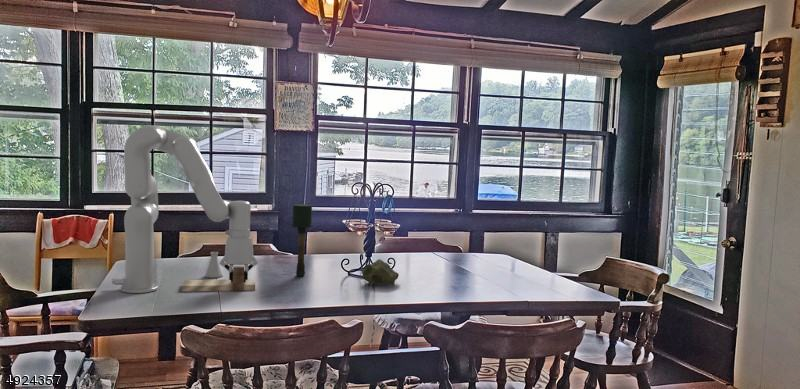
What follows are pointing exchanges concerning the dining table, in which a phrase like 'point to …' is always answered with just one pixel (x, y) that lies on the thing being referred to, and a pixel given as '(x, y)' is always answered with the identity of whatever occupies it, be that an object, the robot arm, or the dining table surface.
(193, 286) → the board
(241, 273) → the brown wooden block
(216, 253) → the flask
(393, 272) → the decorative rock
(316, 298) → the dining table surface
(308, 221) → the potato masher grenade
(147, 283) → the robot arm
